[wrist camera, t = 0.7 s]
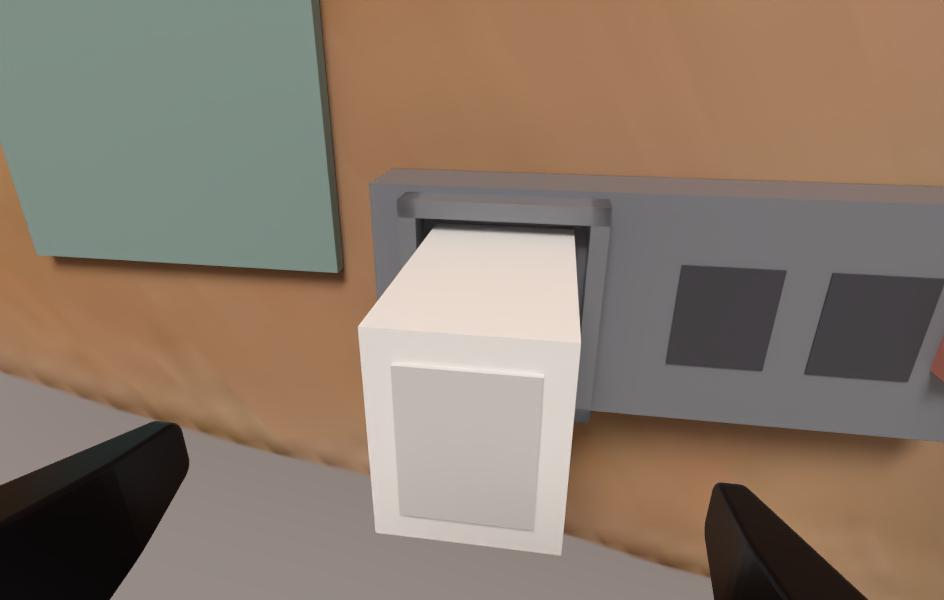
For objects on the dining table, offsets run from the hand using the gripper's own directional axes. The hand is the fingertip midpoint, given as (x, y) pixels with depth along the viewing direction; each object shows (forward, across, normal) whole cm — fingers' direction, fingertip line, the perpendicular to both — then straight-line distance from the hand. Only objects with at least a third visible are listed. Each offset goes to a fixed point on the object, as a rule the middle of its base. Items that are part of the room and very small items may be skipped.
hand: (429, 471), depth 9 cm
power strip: (+11, -5, +1) cm, 12 cm away
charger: (+8, 0, +1) cm, 9 cm away
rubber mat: (+11, +12, -5) cm, 17 cm away
